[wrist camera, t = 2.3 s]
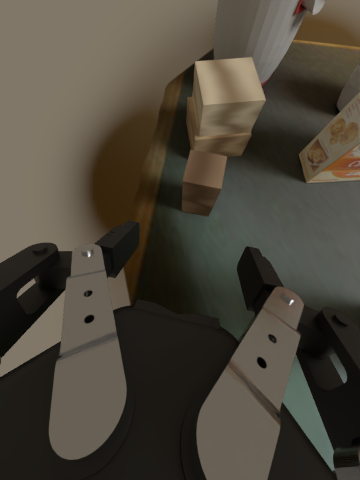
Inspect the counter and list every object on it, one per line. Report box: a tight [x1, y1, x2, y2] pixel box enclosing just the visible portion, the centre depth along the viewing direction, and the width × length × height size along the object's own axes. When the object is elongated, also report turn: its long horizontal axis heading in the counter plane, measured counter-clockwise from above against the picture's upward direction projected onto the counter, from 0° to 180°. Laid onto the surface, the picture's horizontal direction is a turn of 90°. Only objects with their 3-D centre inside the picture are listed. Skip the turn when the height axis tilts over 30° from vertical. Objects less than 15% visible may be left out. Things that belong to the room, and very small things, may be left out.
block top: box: [192, 57, 266, 137], centre depth 25 cm, size 9×9×5 cm
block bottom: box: [186, 97, 252, 157], centre depth 30 cm, size 10×10×5 cm
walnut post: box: [182, 150, 227, 216], centre depth 24 cm, size 5×5×9 cm
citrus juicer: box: [214, 0, 325, 87], centre depth 26 cm, size 16×17×20 cm
